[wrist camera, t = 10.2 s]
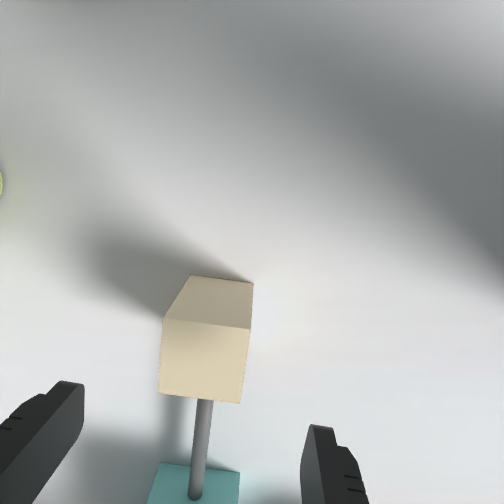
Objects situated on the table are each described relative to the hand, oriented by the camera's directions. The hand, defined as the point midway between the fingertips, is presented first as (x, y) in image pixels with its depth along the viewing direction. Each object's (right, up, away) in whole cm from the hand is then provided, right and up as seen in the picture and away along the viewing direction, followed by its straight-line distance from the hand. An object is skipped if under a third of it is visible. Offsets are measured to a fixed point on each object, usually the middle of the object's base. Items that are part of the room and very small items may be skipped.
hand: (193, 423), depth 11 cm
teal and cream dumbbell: (-1, -6, +12) cm, 13 cm away
